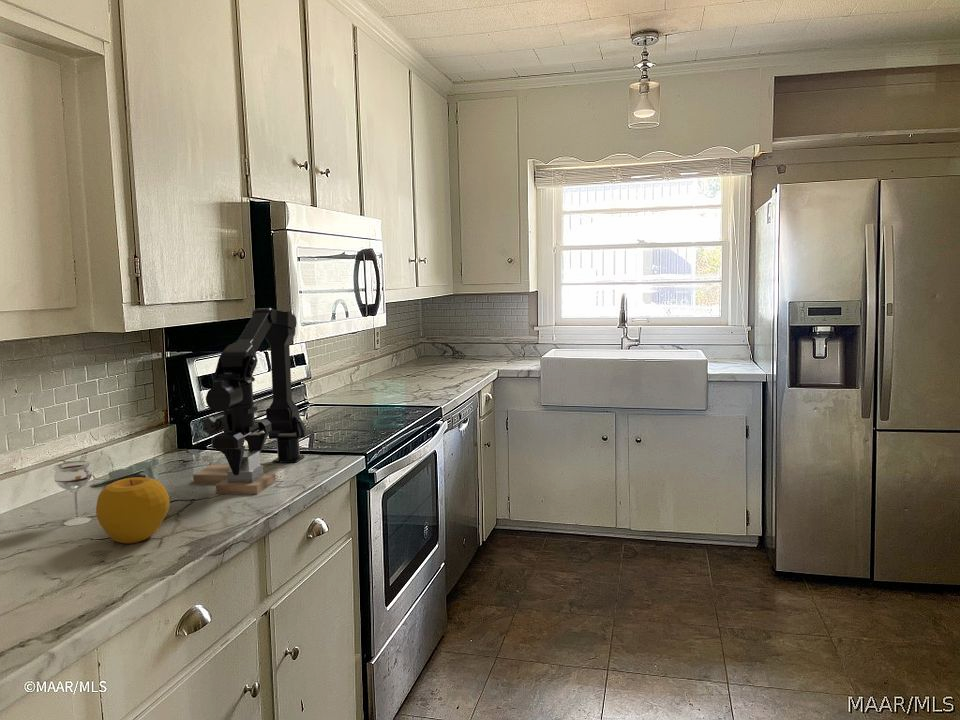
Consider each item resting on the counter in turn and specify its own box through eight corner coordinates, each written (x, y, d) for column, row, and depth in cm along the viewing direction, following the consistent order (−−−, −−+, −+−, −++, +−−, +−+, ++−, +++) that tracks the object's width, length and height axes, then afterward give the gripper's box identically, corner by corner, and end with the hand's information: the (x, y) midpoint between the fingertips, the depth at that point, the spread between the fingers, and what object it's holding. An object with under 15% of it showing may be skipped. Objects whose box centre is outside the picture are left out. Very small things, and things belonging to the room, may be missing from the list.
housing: (239, 475, 178) (238, 450, 178) (263, 475, 177) (261, 450, 177) (227, 482, 172) (226, 457, 172) (252, 482, 172) (250, 457, 171)
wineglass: (68, 516, 158) (63, 461, 156) (101, 515, 158) (96, 459, 156) (52, 527, 151) (46, 470, 149) (86, 526, 151) (81, 468, 150)
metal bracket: (173, 452, 189) (125, 467, 175) (180, 474, 189) (132, 491, 175) (133, 464, 195) (84, 479, 181) (140, 485, 195) (91, 502, 181)
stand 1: (214, 471, 190) (213, 463, 190) (251, 471, 189) (250, 464, 188) (193, 482, 180) (193, 474, 180) (232, 483, 179) (232, 475, 179)
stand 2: (236, 481, 181) (236, 472, 181) (275, 481, 179) (275, 473, 179) (216, 493, 171) (215, 485, 171) (257, 494, 169) (256, 485, 169)
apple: (144, 522, 152) (139, 468, 151) (186, 532, 146) (182, 475, 144) (84, 543, 141) (78, 484, 140) (126, 555, 135) (121, 493, 133)
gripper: (227, 396, 183) (231, 459, 185) (186, 411, 165) (192, 480, 167) (270, 396, 181) (274, 459, 183) (234, 411, 163) (239, 481, 165)
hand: (245, 469), depth 175 cm, fingers open, 9 cm apart
